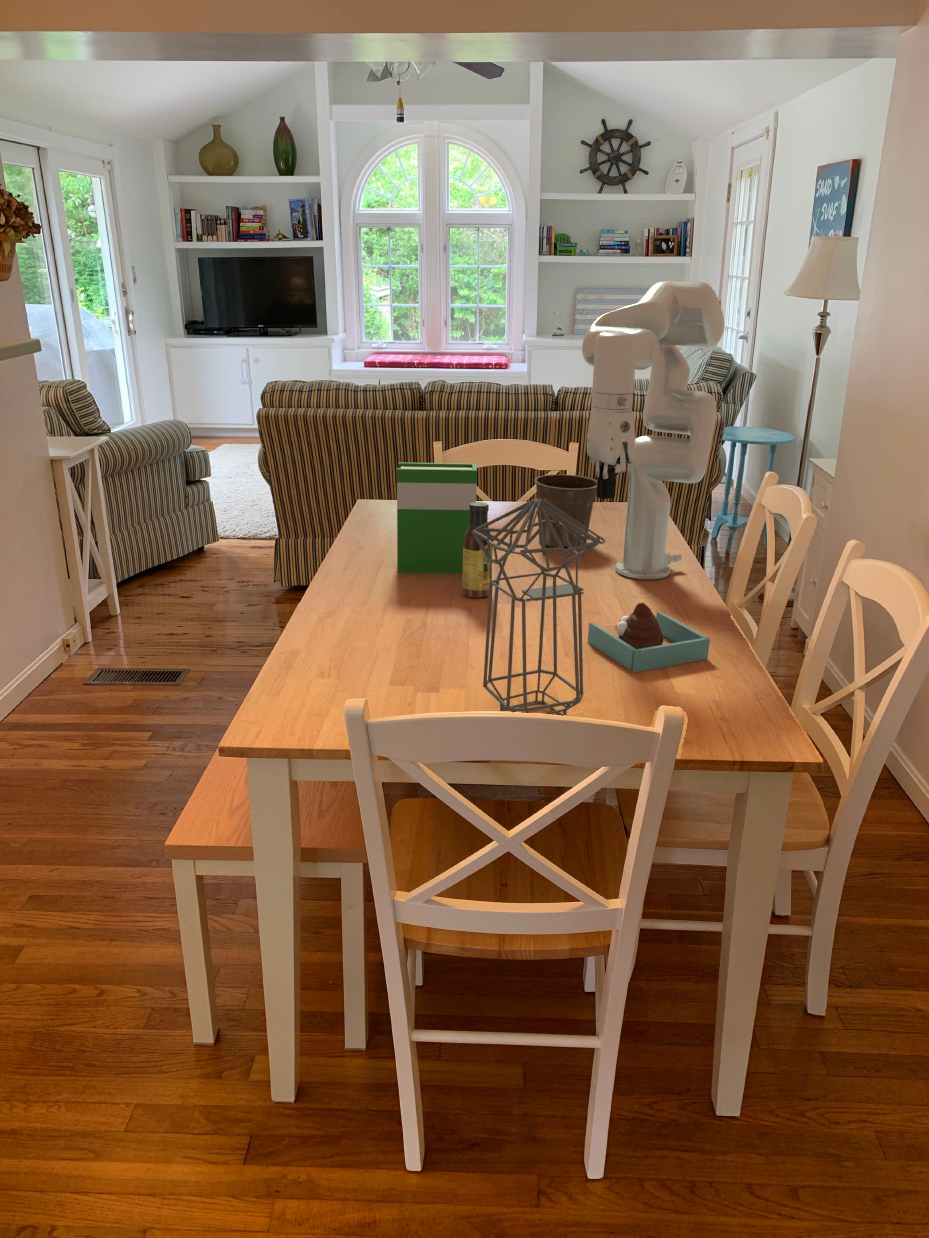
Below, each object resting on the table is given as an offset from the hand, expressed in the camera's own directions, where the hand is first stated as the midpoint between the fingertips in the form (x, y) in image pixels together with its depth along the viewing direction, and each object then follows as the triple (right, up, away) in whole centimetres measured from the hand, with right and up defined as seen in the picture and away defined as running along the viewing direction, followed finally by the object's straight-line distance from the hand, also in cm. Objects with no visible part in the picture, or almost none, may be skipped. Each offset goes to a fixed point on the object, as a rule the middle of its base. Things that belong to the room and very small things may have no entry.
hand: (605, 497), depth 181 cm
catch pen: (+7, -29, -6) cm, 31 cm away
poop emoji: (+5, -29, -5) cm, 30 cm away
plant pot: (-2, -4, +60) cm, 60 cm away
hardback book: (-34, -12, +38) cm, 52 cm away
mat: (-8, -18, +23) cm, 30 cm away
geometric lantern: (-17, -39, -32) cm, 53 cm away
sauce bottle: (-25, -18, +21) cm, 37 cm away
